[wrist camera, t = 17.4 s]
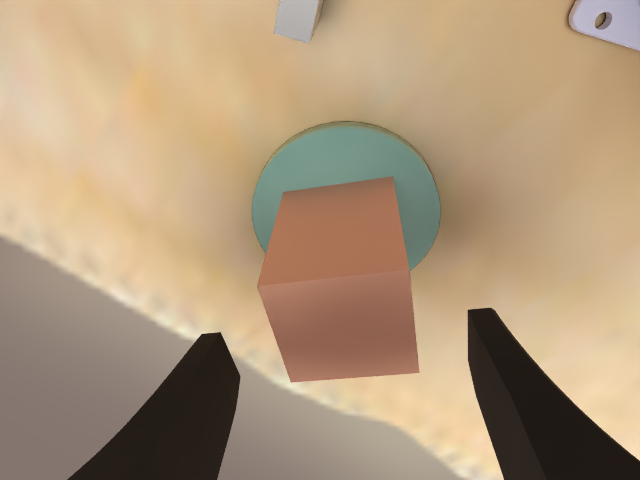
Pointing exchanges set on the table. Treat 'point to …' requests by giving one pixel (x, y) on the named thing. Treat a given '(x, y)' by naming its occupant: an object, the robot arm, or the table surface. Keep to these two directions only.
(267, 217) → the saucer
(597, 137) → the table surface
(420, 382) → the table surface
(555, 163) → the table surface
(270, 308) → the block
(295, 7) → the channel
